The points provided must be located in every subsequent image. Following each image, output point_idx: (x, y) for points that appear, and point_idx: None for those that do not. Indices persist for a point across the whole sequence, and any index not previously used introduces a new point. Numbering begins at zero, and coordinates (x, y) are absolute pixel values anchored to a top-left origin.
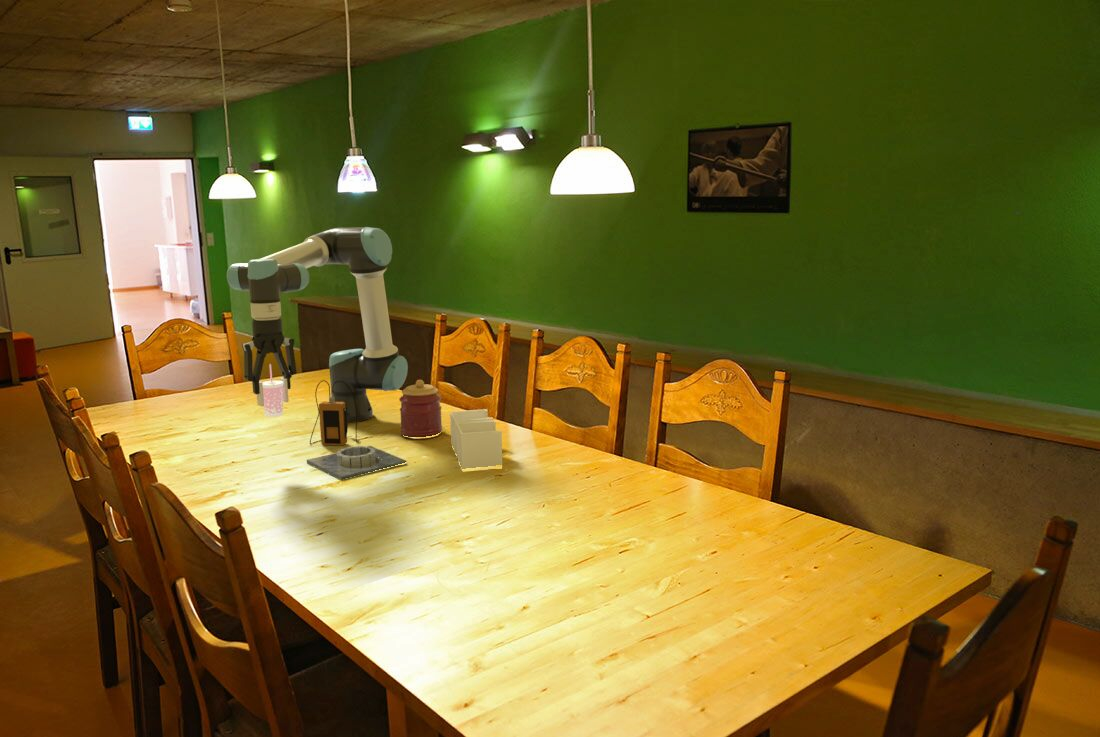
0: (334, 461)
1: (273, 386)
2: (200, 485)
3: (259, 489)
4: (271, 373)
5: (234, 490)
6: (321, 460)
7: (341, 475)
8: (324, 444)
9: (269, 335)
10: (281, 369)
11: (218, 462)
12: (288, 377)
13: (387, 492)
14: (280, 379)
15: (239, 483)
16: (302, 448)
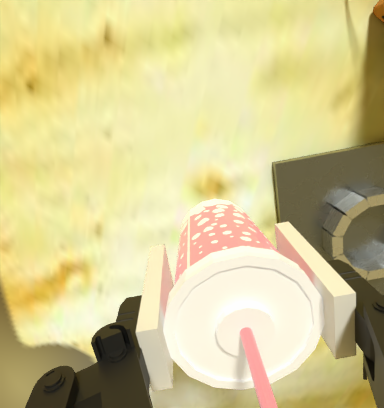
0: (322, 213)
1: (233, 378)
2: (18, 198)
3: (134, 284)
4: (266, 393)
5: (87, 267)
6: (301, 190)
7: None
8: (378, 17)
9: None
10: (381, 377)
11: (66, 12)
12: (366, 375)
13: (321, 394)
14: (326, 290)
15: (101, 229)
16: (314, 6)
